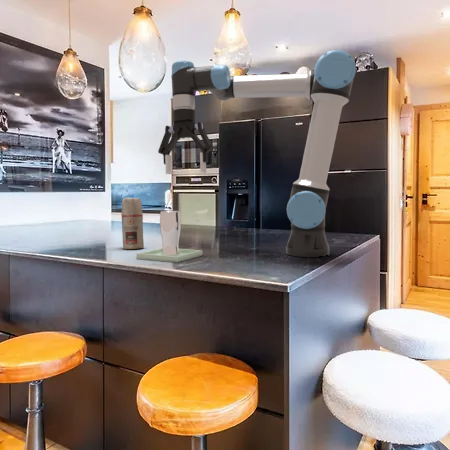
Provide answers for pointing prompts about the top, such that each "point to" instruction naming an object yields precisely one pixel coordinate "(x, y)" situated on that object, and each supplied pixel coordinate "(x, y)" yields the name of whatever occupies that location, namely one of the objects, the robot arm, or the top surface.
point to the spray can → (132, 223)
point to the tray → (157, 256)
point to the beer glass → (170, 232)
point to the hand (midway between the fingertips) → (185, 173)
